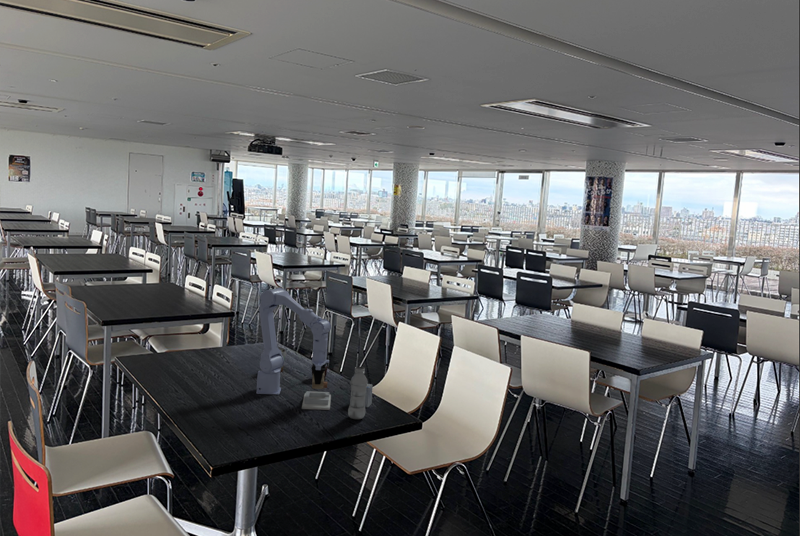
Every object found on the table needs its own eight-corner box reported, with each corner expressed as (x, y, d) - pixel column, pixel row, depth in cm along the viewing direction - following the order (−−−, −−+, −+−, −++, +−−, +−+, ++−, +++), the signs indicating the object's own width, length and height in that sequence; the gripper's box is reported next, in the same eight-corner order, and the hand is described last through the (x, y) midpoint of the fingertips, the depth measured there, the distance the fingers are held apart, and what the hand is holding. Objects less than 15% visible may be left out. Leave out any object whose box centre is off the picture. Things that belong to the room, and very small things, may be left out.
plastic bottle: (347, 414, 232) (350, 365, 230) (364, 415, 233) (368, 366, 231) (347, 421, 226) (350, 370, 224) (365, 421, 227) (368, 371, 224)
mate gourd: (328, 377, 276) (329, 346, 274) (324, 382, 268) (326, 350, 266) (312, 376, 277) (314, 344, 275) (308, 381, 269) (309, 349, 267)
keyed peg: (326, 389, 240) (327, 374, 239) (312, 388, 240) (312, 374, 239) (327, 385, 245) (328, 371, 244) (312, 384, 244) (313, 370, 243)
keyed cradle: (301, 408, 235) (302, 401, 235) (304, 395, 250) (305, 388, 249) (329, 409, 236) (330, 402, 236) (330, 396, 251) (331, 390, 250)
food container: (279, 376, 273) (280, 355, 272) (266, 374, 274) (267, 353, 273) (289, 368, 285) (290, 348, 284) (277, 367, 286) (278, 346, 285)
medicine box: (371, 404, 245) (373, 384, 244) (367, 408, 241) (369, 387, 240) (354, 401, 248) (355, 381, 247) (349, 404, 244) (351, 384, 243)
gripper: (329, 355, 233) (327, 388, 235) (330, 345, 248) (328, 376, 249) (311, 354, 233) (309, 387, 234) (313, 344, 247) (311, 376, 249)
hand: (318, 382), depth 242 cm, fingers closed on keyed peg, 4 cm apart
